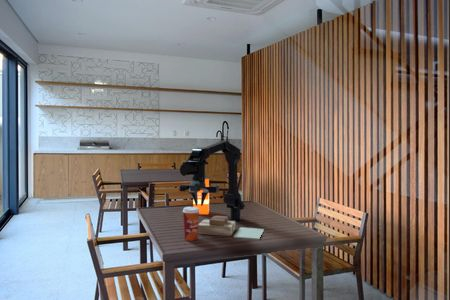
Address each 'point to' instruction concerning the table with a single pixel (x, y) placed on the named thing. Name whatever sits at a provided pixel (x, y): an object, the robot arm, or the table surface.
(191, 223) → the paper cup
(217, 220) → the walnut block
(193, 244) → the table surface
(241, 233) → the sage mat
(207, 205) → the orange juice
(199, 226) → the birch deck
